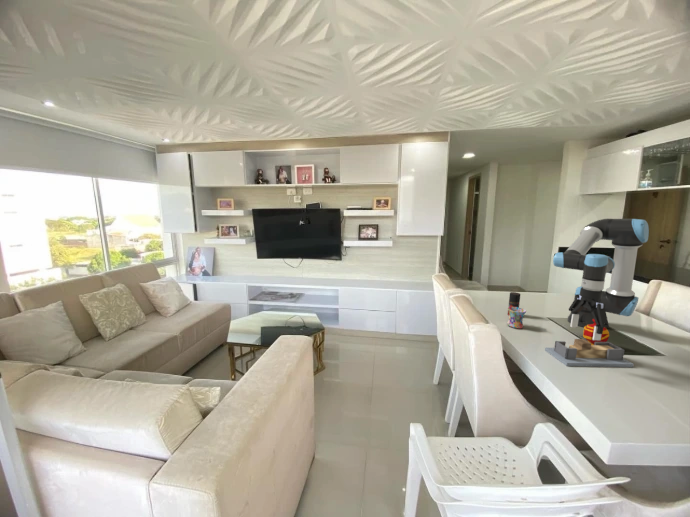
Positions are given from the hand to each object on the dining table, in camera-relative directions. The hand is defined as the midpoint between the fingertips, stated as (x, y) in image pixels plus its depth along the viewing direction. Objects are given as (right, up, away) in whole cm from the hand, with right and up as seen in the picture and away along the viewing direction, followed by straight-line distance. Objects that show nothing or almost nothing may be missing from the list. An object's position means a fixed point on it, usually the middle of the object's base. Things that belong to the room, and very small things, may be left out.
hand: (584, 333), depth 128 cm
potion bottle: (+18, -10, +15) cm, 25 cm away
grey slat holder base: (+3, -12, +2) cm, 13 cm away
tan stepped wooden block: (+5, -11, +2) cm, 12 cm away
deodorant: (0, -3, +55) cm, 55 cm away
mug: (-8, -6, +39) cm, 40 cm away
